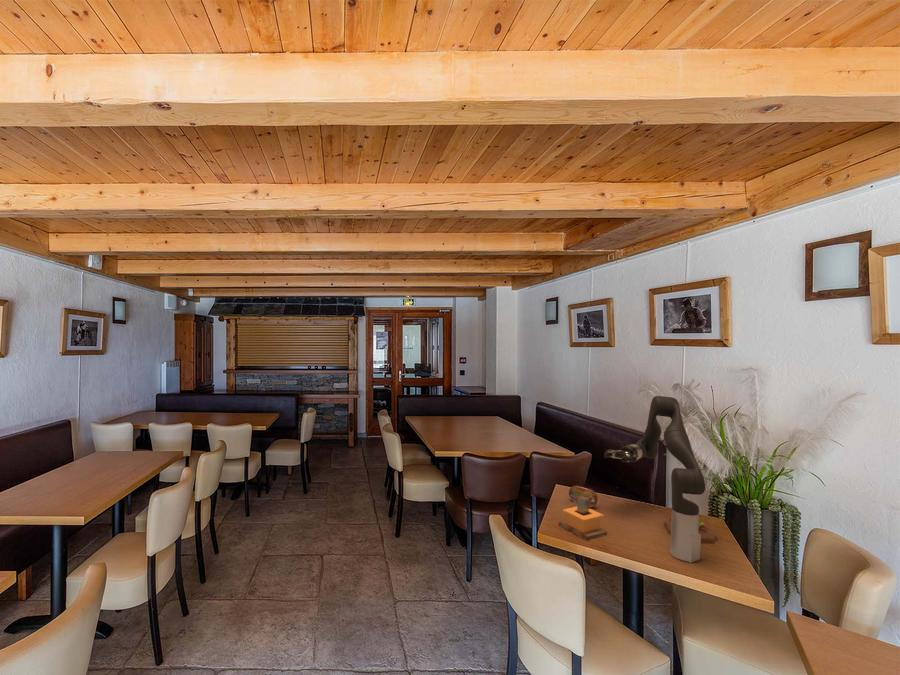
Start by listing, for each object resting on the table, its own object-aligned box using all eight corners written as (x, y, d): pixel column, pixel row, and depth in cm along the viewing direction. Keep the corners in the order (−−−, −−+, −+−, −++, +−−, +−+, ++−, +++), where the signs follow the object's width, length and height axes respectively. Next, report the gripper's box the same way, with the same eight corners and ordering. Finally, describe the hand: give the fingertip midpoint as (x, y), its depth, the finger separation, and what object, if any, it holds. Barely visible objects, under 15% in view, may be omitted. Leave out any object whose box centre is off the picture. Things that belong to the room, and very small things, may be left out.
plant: (723, 548, 174) (724, 520, 174) (670, 539, 179) (671, 513, 179) (709, 528, 193) (710, 503, 193) (661, 521, 199) (662, 496, 199)
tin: (568, 500, 220) (568, 484, 220) (571, 499, 222) (572, 482, 222) (594, 510, 208) (595, 492, 208) (598, 508, 210) (598, 491, 210)
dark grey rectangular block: (588, 526, 185) (589, 498, 186) (584, 528, 183) (585, 500, 183) (580, 523, 188) (581, 496, 188) (576, 525, 185) (577, 498, 186)
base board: (607, 534, 181) (607, 530, 182) (587, 540, 175) (587, 536, 176) (578, 520, 195) (578, 516, 195) (558, 525, 189) (559, 521, 189)
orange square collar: (603, 529, 183) (603, 514, 183) (583, 534, 177) (583, 519, 177) (581, 518, 194) (582, 505, 194) (562, 523, 188) (562, 509, 188)
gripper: (617, 442, 214) (599, 446, 203) (645, 448, 203) (628, 453, 192) (616, 457, 213) (599, 462, 203) (645, 464, 203) (628, 469, 192)
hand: (613, 457), depth 198 cm, fingers open, 8 cm apart
